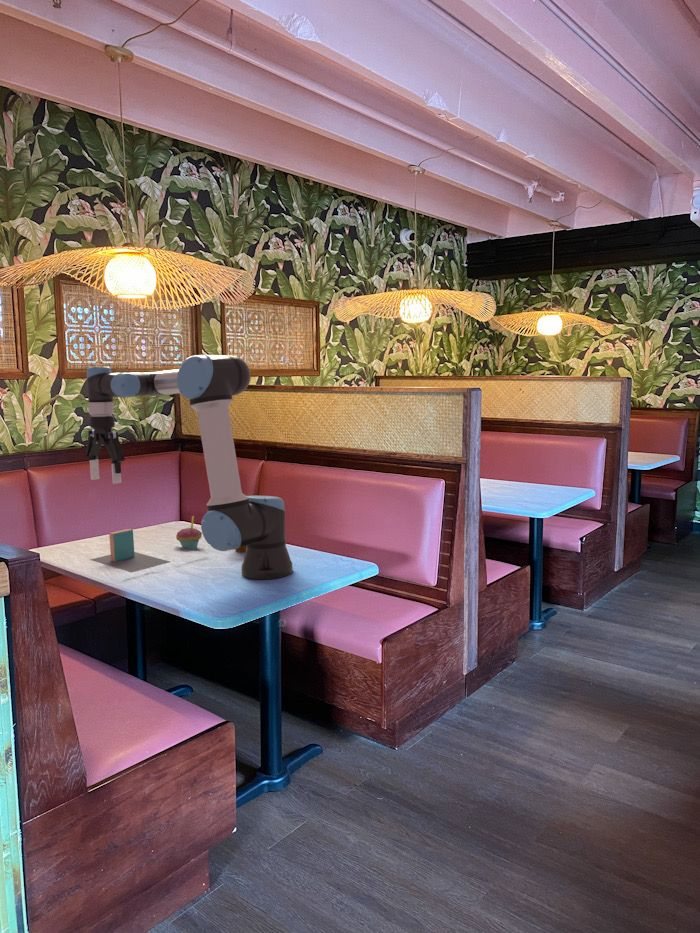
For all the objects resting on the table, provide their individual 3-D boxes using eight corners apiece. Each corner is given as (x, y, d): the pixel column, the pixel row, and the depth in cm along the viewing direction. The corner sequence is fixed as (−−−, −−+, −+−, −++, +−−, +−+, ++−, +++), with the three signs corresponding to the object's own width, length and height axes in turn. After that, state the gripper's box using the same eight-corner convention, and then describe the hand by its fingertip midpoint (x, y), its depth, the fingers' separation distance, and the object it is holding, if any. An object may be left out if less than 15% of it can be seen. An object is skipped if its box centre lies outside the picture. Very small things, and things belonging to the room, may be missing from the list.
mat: (171, 564, 216) (171, 561, 216) (131, 575, 205) (131, 572, 205) (128, 553, 231) (128, 550, 231) (89, 562, 220) (89, 559, 220)
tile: (135, 556, 222) (133, 529, 221) (115, 561, 217) (113, 533, 216) (130, 555, 224) (128, 528, 223) (111, 560, 219) (109, 532, 217)
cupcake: (204, 545, 240) (203, 511, 238) (199, 551, 231) (197, 516, 230) (180, 545, 240) (178, 512, 238) (173, 552, 231) (171, 517, 230)
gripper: (133, 416, 215) (137, 483, 218) (92, 413, 230) (96, 476, 233) (112, 417, 209) (116, 486, 212) (71, 414, 225) (75, 479, 228)
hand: (106, 481), depth 223 cm, fingers open, 12 cm apart
